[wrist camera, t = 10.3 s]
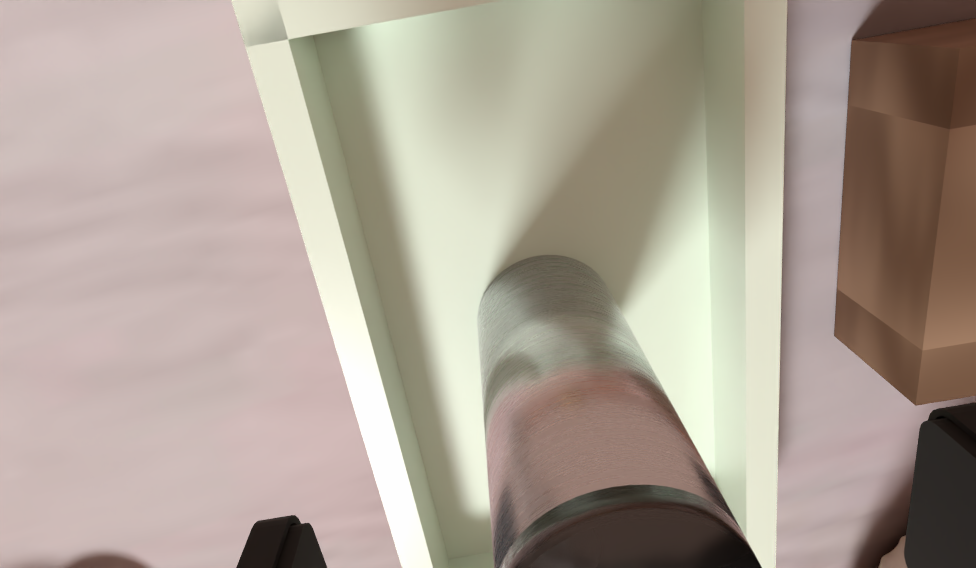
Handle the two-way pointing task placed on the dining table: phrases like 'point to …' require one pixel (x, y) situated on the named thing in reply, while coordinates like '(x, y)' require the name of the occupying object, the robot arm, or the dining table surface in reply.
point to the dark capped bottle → (587, 435)
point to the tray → (534, 216)
